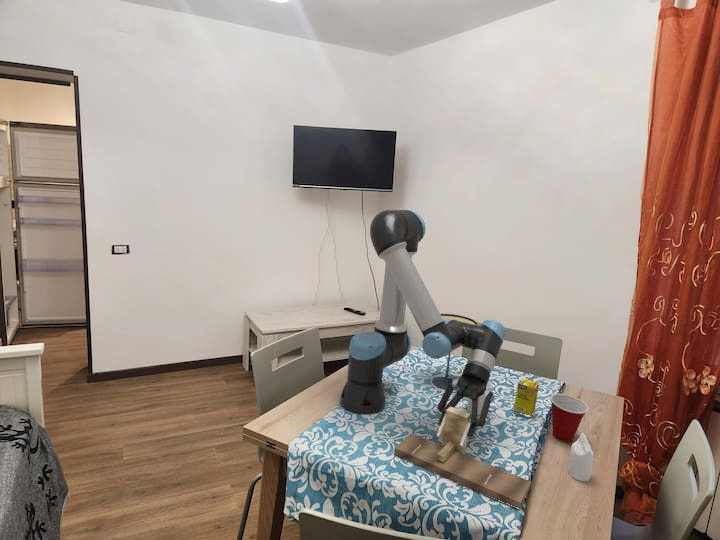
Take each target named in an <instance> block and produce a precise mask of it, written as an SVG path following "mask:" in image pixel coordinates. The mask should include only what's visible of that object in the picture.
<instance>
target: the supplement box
mask: <svg viewBox="0 0 720 540" xmlns="http://www.w3.org/2000/svg"><path fill="white" fill-rule="evenodd" d="M539 386H540V382H538V381H535V380H530V379H528V378H523V377H521V379H520V380H519V381H518V383H517V387H516V392H515V393H516V394H515V400H514V405H513V411H514V412H517V413H522V414H526V415H530V416H531V415H532V413H533V412H534V413H535V411H534V410H536V405H537V398H538V393H539V392H538V391H539ZM534 413H533V414H534ZM532 416H533V415H532Z"/></svg>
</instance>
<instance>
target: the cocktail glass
mask: <svg viewBox="0 0 720 540" xmlns="http://www.w3.org/2000/svg"><path fill="white" fill-rule="evenodd" d="M440 315H441V317H442V318H443V320H444V319H451V320H457V321H460V322H465V323H469V324H473V325H479V324H478V321H476V320H474V319H472V318H470V317H468V316H467V317H466V316H463V315H459V314H451V313H440ZM447 356H448V357H447V364H446V370H445V375H444V376H436V377H434V378H432V379H431V383H432V384H433V386H435V387H437V388H440V389H443V390H446V388H447V386H448V380H449V379H450V378H451V379H452V380H456V379H454V378H452V377H449V368H450V360H451V352H450V353H449V354H448V355H447ZM457 389H458V390H459V386H458V385H456V387H455V388H453V390H457Z"/></svg>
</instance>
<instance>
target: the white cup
mask: <svg viewBox="0 0 720 540" xmlns="http://www.w3.org/2000/svg"><path fill="white" fill-rule="evenodd" d="M486 389H487V390H488V391H489V392H493V389H494V385H493V383H492V382H491V381H489V380H488V383H487V386H486ZM484 400H485V394H483V395H481V396H480V397H478V413H477V416H480V414H481V411H482V407H483V404H484ZM466 401H467V405H466V408H467V411H468V413H470V414H472V399H470V398H469V397H467V400H466Z"/></svg>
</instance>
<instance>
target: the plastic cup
mask: <svg viewBox="0 0 720 540" xmlns="http://www.w3.org/2000/svg"><path fill="white" fill-rule="evenodd" d="M550 401H551V423H552V424H551V425H552V435H553V437H554V439H557V440H559V441H561V442H565V443H571V442H572V441H573V440H574V438H575V436H576V433H578V432H577V431H578V429H579V427H580V425H581V422H582V420H583V418H584V416H585V414H587V413H588V412H589V406H588V404H587V403H585V401H583V400H582V399H579V398H577V397H575V396H573V395H569V394H565V393H554V394H552V395H550Z"/></svg>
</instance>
